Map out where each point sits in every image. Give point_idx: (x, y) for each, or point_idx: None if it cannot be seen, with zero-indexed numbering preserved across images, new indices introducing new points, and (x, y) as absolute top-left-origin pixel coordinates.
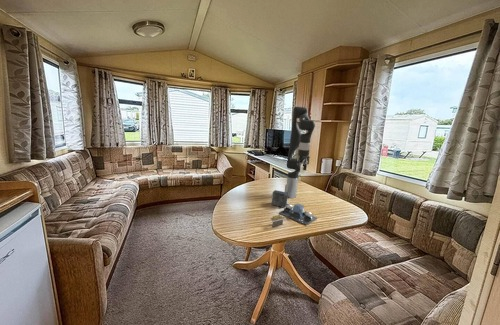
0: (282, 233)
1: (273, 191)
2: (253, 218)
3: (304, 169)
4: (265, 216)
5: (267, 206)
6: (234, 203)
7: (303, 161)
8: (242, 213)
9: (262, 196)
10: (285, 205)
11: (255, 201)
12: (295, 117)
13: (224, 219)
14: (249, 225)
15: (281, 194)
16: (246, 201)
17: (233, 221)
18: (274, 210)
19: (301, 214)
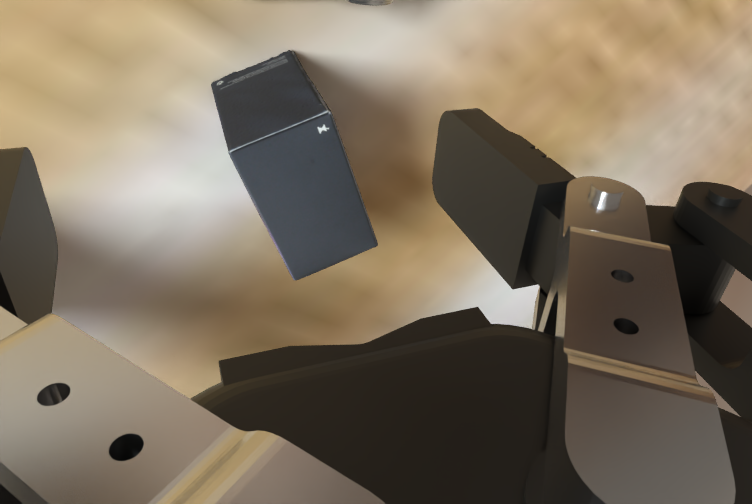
0: None
1: (354, 255)
2: (647, 64)
3: (42, 210)
4: (571, 32)
5: (394, 164)
6: (523, 306)
7: (597, 346)
8: (620, 166)
9: (251, 337)
10: (264, 67)
11: (388, 280)
12: None
13: (738, 157)
14: (748, 2)
15: (346, 155)
16: (439, 303)
17: (740, 108)
18: (419, 69)
19: None
